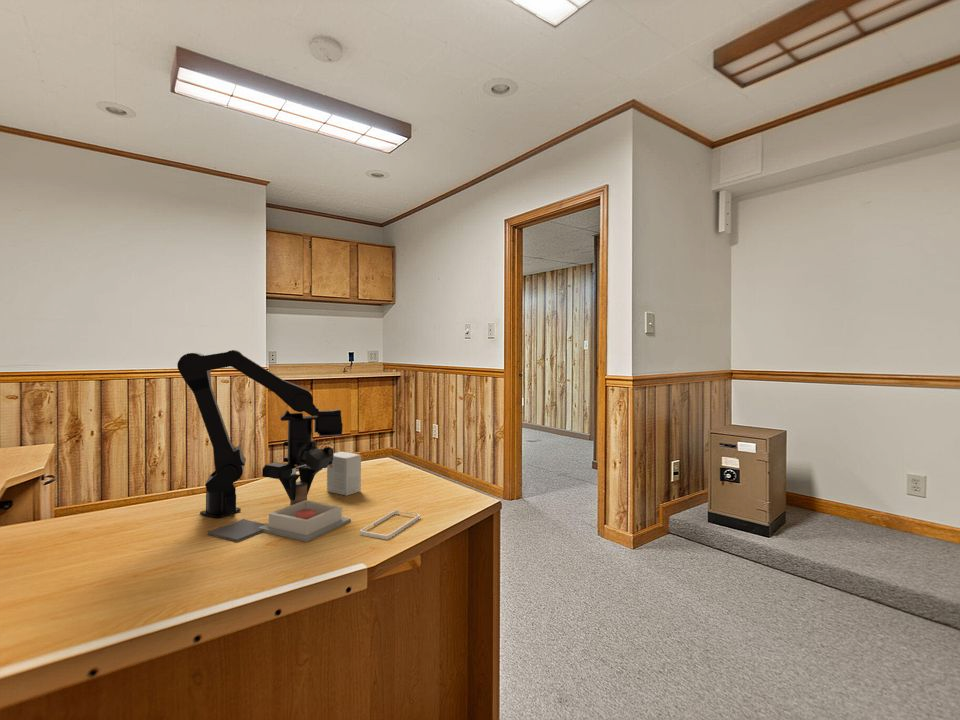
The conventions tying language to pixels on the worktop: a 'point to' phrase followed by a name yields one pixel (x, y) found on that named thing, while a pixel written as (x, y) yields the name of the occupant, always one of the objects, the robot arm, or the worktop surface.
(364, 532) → the phone case
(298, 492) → the dowel
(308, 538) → the grey square tray
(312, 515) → the button
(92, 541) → the worktop surface
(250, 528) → the pad
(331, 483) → the small box
